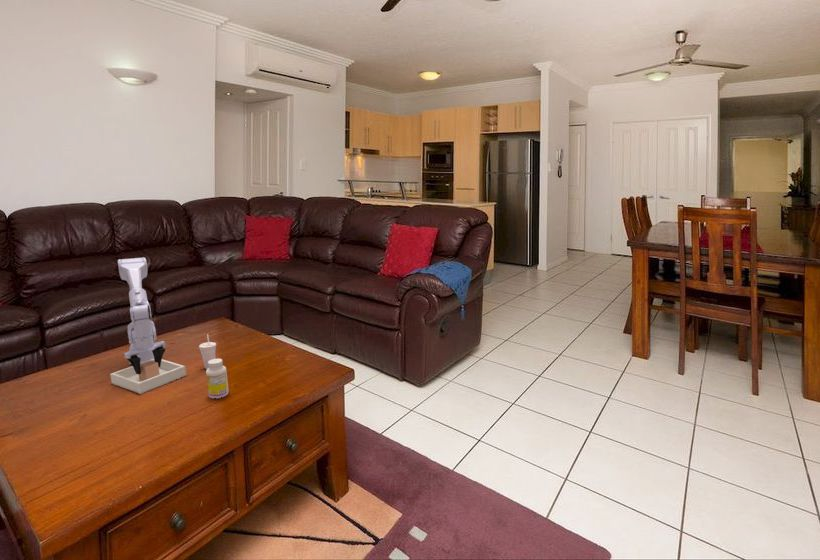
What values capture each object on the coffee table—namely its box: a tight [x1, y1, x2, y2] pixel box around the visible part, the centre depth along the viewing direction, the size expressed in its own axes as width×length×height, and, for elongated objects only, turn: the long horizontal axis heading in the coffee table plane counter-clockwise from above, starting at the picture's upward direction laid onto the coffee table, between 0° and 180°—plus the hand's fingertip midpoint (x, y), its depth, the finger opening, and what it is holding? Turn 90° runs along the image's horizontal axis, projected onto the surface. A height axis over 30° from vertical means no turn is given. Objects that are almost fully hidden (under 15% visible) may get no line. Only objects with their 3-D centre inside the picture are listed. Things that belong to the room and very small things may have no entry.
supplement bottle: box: [205, 358, 230, 399], centre depth 160 cm, size 7×7×13 cm
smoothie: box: [198, 333, 217, 370], centre depth 184 cm, size 6×6×14 cm
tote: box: [110, 358, 187, 395], centre depth 174 cm, size 18×18×4 cm
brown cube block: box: [139, 360, 160, 381], centre depth 173 cm, size 5×5×6 cm
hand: (148, 370), depth 173 cm, fingers open, 7 cm apart
